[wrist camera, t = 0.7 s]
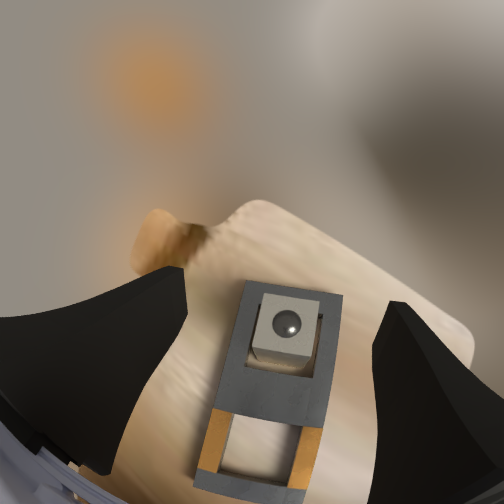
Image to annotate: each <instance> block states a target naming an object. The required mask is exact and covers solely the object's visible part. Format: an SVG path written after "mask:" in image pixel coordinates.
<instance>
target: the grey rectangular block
mask: <svg viewBox="0 0 504 504" xmlns="http://www.w3.org/2000/svg"><path fill="white" fill-rule="evenodd" d="M318 310H319V301H313V300H306V299H299V298H293V297H286V296H280V295H274V294H268V293H264V296H263V300H262V305H261V309H260V313H259V318H258V322H257V326H256V331H255V335H254V339H253V343H252V348H253V351H254V353H255V355H256V357H257V360H258V361H260V362H266V363H271V364H277V365H282V366H288V367H295V368H301V369H303V368H304V366H305V365H306V363H307V362H308V361H309V359H310V358H311V355H312V349H313V343H314V337H315V330H316V324H317V317H318Z"/></svg>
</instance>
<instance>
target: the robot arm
mask: <svg viewBox="0 0 504 504" xmlns="http://www.w3.org/2000/svg"><path fill="white" fill-rule="evenodd" d="M187 315H188V310H187V301H186V291H185V281H184V269H183V268H178V267H173V266H166V267H163V268H161V269H158V270H156V271H153V272H151V273H149V274H146V275H144V276H142V277H140V278H138V279H135V280H133V281H131V282H129V283H127V284H124V285H122V286H120V287H117V288H115V289H113V290H110V291H108V292H105V293H103V294H101V295H98V296H96V297H93V298H91V299H88V300H85V301H82V302H79V303H76V304H73V305H70V306H66V307H63V308H59V309H54V310H50V311H46V312H42V313H36V314H31V315H23V316H15V317H0V504H84V503H82V502H80V501H78V500H77V499H75V498H74V493H75V494H77V495H78V496H80V497H81V498H83V499H84V500H86V501H87V502H89V503H90V504H129V503H127V502H125V501H123V500H121V499H119V498H117V497H115V496H114V495H112V494H110V493H108V492H107V491H105V490H103V489H102V488H100V487H98V486H97V485H95V484H93V483H92V482H90V481H89V480H87V479H86V478H84V477H83V476H81V475H80V474H78V473H77V472H75V471H74V470H73V469H71V468H70V467H68V466H67V465H68V464H69V462H70V461H71V462H73V463H74V464H76V465H77V466H78V467H80V466H81V465H82V464H83V465H85V466H86V467H88V468H90V469H91V470H93V471H94V472H96V473H98V474H99V475H101V476H104V475H109V474H111V470H112V466H113V462H114V459H115V456H116V452H117V449H118V446H119V443H120V441H121V438H122V435H123V433H124V430H125V427H126V425H127V423H128V420H129V418H130V416H131V413H132V411H133V409H134V407H135V405H136V402H137V400H138V398H139V396H140V394H141V392H142V390H143V388H144V386H145V385H146V383H147V381H148V380H149V378H150V377H151V375H152V374H153V372H154V371H155V369H156V368H157V366H158V365H159V363H160V362H161V360H162V359H163V357H164V356H165V354H166V353H167V351H168V350H169V348H170V346H171V345H172V343H173V342H174V340H175V339H176V337H177V336H178V334H179V332H180V330H181V328H182V326H183V323H184V321H185V319H186V317H187ZM372 372H373V381H374V391H375V400H376V411H377V427H378V436H377V449H376V459H375V466H374V473H373V480H372V485H371V489H370V494H369V498H368V502H367V504H504V399H503V398H501V397H500V396H499V395H497V394H496V393H495V392H494V391H492V390H491V389H490V388H489V387H487V386H486V385H485V384H483V382H481V381H480V380H479V379H478V378H477V377H476V376H475V375H474V374H473V373H472V372H471V371H470V370H469V369H467V368H466V367H465V366H464V365H463V364H462V363H461V362H460V360H459V359H458V358H457V357H456V356H455V355H454V354H453V353H452V352H451V351H450V350H449V349H448V348H447V347H446V346H445V345H444V343H443V342H442V341H441V340H440V339H439V338H438V337H437V336H436V334H435V333H434V332H433V331H432V330H431V329H430V328H429V327H428V325H427V324H426V323H425V322H424V321H423V320H422V319H421V318H420V316H419V315H418V314H417V313H416V312H415V311H414V310H413V309H412V308H411V307H410V306H409V305H408V304H407V303H406V302H398V301H389V304H388V307H387V310H386V312H385V315H384V317H383V320H382V323H381V325H380V328H379V330H378V332H377V335H376V337H375V340H374V342H373V344H372ZM73 492H74V493H73Z"/></svg>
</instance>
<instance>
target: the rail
mask: <svg viewBox="0 0 504 504" xmlns="http://www.w3.org/2000/svg"><path fill="white" fill-rule="evenodd" d="M264 293H268V294H274V295H280V296H286V297H293V298H299V299H306V300H313V301H319V310H318V317H317V318H320V319H321V322H320V329H319V336H318V343H317V349H316V355H315V361H314V367H313V372H312V378H306V377H299V376H292V375H286V374H280V373H275V372H269V371H264V370H259V369H254V368H249V367H246V365H247V361H248V357H249V353H250V349H251V344H252V340H253V336H254V332H255V327H256V323H257V319H258V314H259V310H260V309H261V305H262V300H263V296H264ZM342 301H343V295H339V294H332V293H325V292H318V291H311V290H305V289H298V288H292V287H285V286H279V285H273V284H266V283H260V282H254V281H248V280H246V284H245V287H244V291H243V295H242V299H241V303H240V307H239V311H238V314H237V318H236V322H235V326H234V330H233V334H232V338H231V341H230V345H229V349H228V353H227V357H226V361H225V364H224V368H223V372H222V376H221V380H220V384H219V388H218V391H217V395H216V399H215V403H214V407H213V409H212V413H211V417H210V421H209V425H208V429H207V432H206V436H205V440H204V444H203V448H202V451H201V455H200V459H199V463H198V467H197V472H196V475H195V479H194V483H193V487H196V488H199V489H202V490H206V491H209V492H212V493H216V494H220V495H224V496H227V497H232V498H236V499H240V500H245V501H250V502H255V503H261V504H302V503H303V500H304V497H305V494H306V490H307V488H308V485H309V481H310V478H311V474H312V471H313V467H314V463H315V460H316V456H317V452H318V448H319V444H320V440H321V435H322V431H323V425H324V421H325V416H326V411H327V406H328V401H329V396H330V390H331V385H332V379H333V373H334V366H335V360H336V353H337V346H338V338H339V330H340V321H341V311H342ZM234 414H239V415H243V416H248V417H252V418H257V419H262V420H267V421H273V422H279V423H285V424H291V425H299V426H301V430H300V434H299V438H298V442H297V446H296V450H295V454H294V458H293V462H292V465H291V469H290V473H289V476H288V480H287V483H283V482H276V481H270V480H264V479H259V478H253V477H249V476H244V475H239V474H235V473H231V472H227V471H223V470H220V467H221V463H222V460H223V456H224V452H225V448H226V445H227V441H228V437H229V433H230V429H231V425H232V421H233V418H234Z"/></svg>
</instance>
